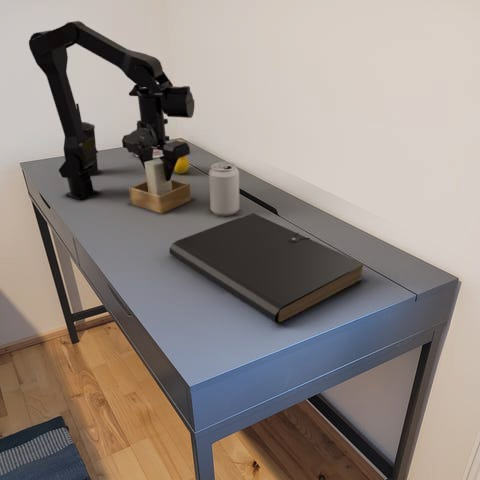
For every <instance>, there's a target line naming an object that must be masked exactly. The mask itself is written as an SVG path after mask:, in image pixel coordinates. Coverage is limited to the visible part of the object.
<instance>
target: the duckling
mask: <svg viewBox="0 0 480 480" xmlns="http://www.w3.org/2000/svg"><path fill="white" fill-rule="evenodd" d="M176 140H177V141H181V142H185V141H184V140H181V139H176ZM189 168H190V163H189V160H188V159H187V156H183V157H180V158H179V159H178V161H177V163H176V165H175V168H174V171H173V172H175V173H176V174H179V175H181V174H182V175H183V174H185V173H186V172H187V171H188V170H189Z"/></svg>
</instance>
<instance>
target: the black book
mask: <svg viewBox="0 0 480 480" xmlns="http://www.w3.org/2000/svg"><path fill="white" fill-rule="evenodd" d="M169 254H170V255H171V256H173V257H174V258H176V259H177V260H179V261H180V262H182V263H183V264H184V265H186V266H188V267H190V268H191V269H193V270H195V272H197V273H199V274H200V275H202V276H204V277H205V278H206V279H208V280H210V281H211V282H213V283H214V284H216V285H217V286H219V287H221V288H222V289H223V290H225V291H227V292H228V293H230V294H231V295H233V296H234V297H236V298H237V299H239V300H240V301H242V302H244V303H245V304H247V305H248V306H249V307H251V308H253V309H254V310H255V311H257V312H259V313H260V314H262V315H264V316H265V317H267V319H269V320H271V321H273V323H276V324H282V323H284V322H287V321H289V320H290V319H293V318H294V317H296V316H298V315H299V314H301V313H303V312H305V311H307V310H309V309H311V308H312V307H314V306H316V305H318V304H320V303H322V302H324V301H325V300H327V299H329V298H331V297H333V296H334V295H337V294H339V293H340V292H342V291H344V290H347V288H350V287H352V286H354V285H355V284H357V283H359V282H361V281H362V280H363V279H362V275H363V271H364V266H365V264H364V263H363V262H361V261H358V260H357V259H355V258H352V257H350V256H348V255H346V254H344V253H341V252H339V251H337V250H334V249H332V248H330V247H328V246H326V245H324V244H321V243H319V242H317V241H316V240H313V239H311V238H310V237H307V236H304V235H302V234H300V233H299V232H295V231H293V230H291V229H289V228H287V227H285V226H282V225H280V224H279V223H276V222H274V221H272V220H270V219H267V218H265V217H263V216H261V215H259V214H257V213H254V212H253V213H250V214H247V215H245V216H242V217H237V218H235V219H231V220H229V221H226V222H224V223H221V224H218V225H216V226H213V227H210V228H207V229H205V230H202V231H199V232H196V233H194V234H192V235H189V236H186V237H182V238H181V239H178V240H175V241H174V242H173V243H172V244H171V245H170V246H169Z"/></svg>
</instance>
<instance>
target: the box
mask: <svg viewBox="0 0 480 480" xmlns="http://www.w3.org/2000/svg"><path fill="white" fill-rule="evenodd" d="M144 163H145V169H144V171H145V170H146V171H145V175H146V176H145V177H146V181H147V184H148V191H149V193H152V194H156V195H159V196H161V195H163V194H166V193H168V192H170V191H172V184H171V179H172V178H171V179H170V181H166V178H165V173H164V166H163V162H162V161H161V160H160V159H159V158H153V160H150V161H147V162H144Z"/></svg>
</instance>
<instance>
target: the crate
mask: <svg viewBox="0 0 480 480" xmlns="http://www.w3.org/2000/svg"><path fill="white" fill-rule="evenodd" d="M171 184H172V191H170V192H168V193H166V194H163V195H161V196H159V195H156V194H152V193H149V191H148V184H147V180H146V181H143V182H141V183H137V184H135V185H133V186H131V187H128V189H129V197H130V203H131V205H134V206H136V207H140V208H143V209H146V210H148V211H152V212H155V213H158V214H161V215H162V214H164V213H165V214H166V213H168V212H169V211H171V210H173V209H176V208H178V207H179V206H182V205H184V204H187V203H188V202H191V201H192V194H191V184H190V183H188V182H183V181H180V180H176V179H173V178H171Z"/></svg>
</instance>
